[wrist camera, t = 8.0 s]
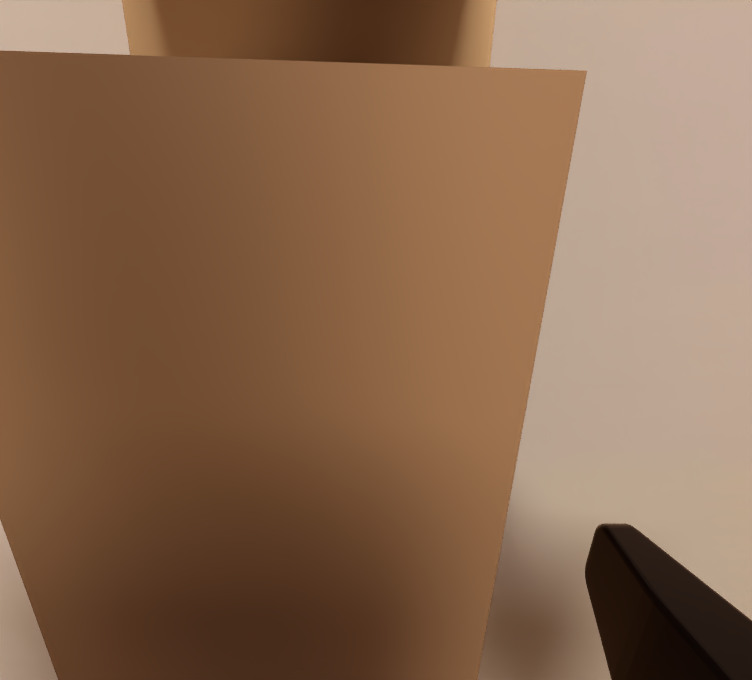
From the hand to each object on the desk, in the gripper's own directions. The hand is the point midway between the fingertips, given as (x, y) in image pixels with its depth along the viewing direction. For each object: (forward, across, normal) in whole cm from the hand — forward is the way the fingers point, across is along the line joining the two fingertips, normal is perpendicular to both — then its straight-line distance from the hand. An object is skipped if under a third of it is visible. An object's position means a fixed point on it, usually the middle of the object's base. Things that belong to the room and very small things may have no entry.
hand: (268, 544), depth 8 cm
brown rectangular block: (+5, 0, 0) cm, 5 cm away
